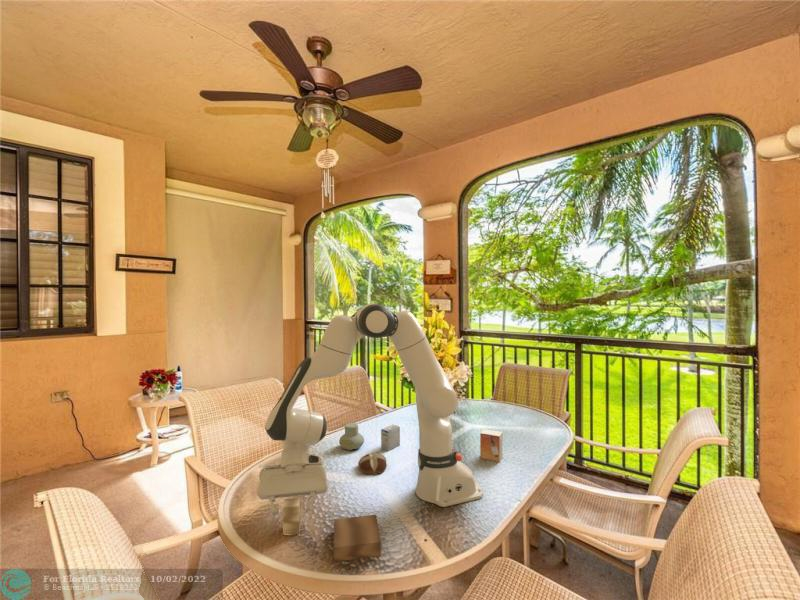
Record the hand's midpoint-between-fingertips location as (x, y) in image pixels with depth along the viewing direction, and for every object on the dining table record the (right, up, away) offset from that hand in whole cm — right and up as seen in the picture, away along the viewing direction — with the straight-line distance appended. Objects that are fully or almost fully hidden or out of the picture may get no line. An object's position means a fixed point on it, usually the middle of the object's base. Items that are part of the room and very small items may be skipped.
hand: (291, 512), depth 106 cm
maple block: (0, -5, 0) cm, 5 cm away
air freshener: (+10, -4, +57) cm, 58 cm away
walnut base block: (+19, -5, -6) cm, 21 cm away
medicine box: (+27, -4, +57) cm, 63 cm away
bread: (+20, -5, +37) cm, 43 cm away
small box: (+69, -4, +44) cm, 82 cm away
